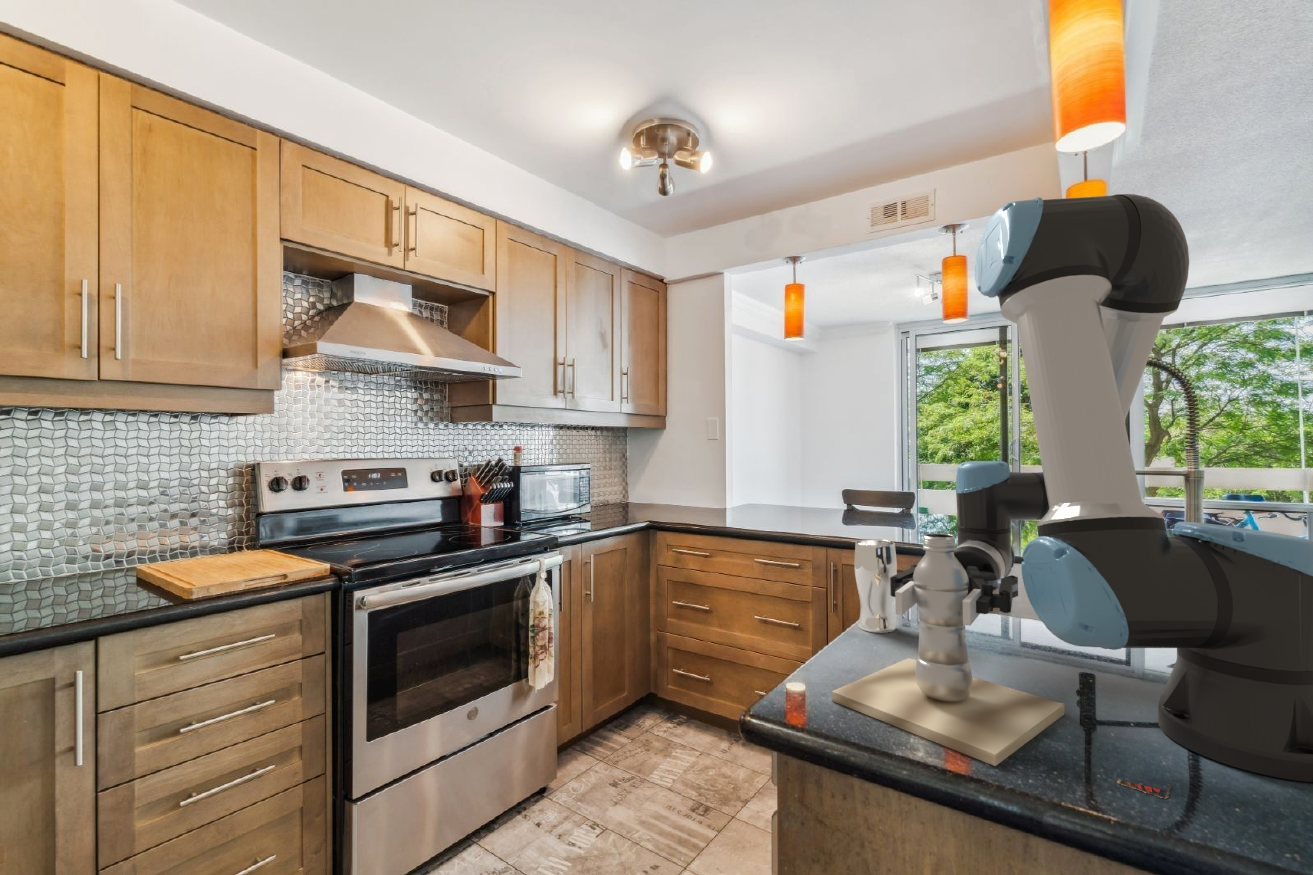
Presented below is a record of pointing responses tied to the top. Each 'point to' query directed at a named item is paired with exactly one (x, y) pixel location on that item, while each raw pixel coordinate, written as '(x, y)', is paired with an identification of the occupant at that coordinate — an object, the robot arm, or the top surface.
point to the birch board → (953, 712)
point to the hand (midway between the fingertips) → (931, 608)
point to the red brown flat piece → (1147, 789)
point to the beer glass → (875, 583)
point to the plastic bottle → (941, 621)
